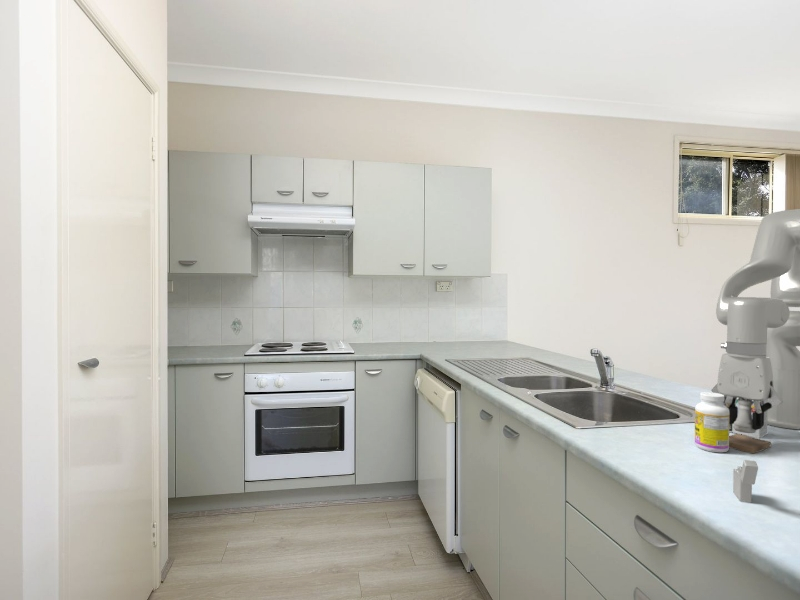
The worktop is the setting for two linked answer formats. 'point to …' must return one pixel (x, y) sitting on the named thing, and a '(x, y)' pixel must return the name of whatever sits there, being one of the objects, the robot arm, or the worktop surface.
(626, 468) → the worktop surface
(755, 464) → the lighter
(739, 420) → the rook chess piece
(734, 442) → the walnut coaster
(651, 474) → the worktop surface
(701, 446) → the supplement bottle
